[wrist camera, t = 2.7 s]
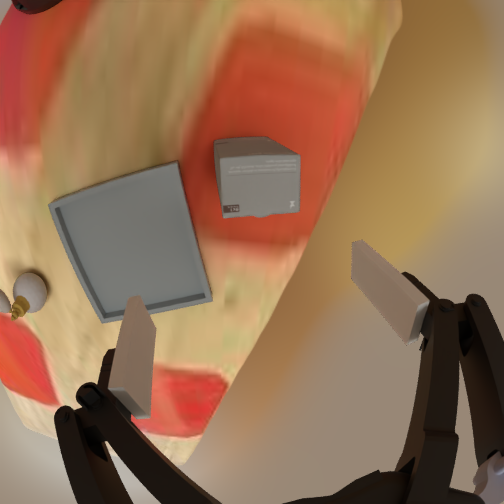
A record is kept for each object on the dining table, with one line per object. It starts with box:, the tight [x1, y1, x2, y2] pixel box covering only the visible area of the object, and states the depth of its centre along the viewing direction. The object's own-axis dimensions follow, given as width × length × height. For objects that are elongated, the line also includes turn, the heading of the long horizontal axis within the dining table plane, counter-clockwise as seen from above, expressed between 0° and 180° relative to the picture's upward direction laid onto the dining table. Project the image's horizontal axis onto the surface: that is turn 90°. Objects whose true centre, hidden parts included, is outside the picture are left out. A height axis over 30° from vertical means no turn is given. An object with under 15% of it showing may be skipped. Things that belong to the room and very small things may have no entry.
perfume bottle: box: [0, 273, 47, 321], centre depth 36 cm, size 8×10×12 cm
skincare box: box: [214, 137, 300, 218], centre depth 33 cm, size 8×7×16 cm
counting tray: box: [48, 161, 213, 323], centre depth 42 cm, size 24×22×2 cm
